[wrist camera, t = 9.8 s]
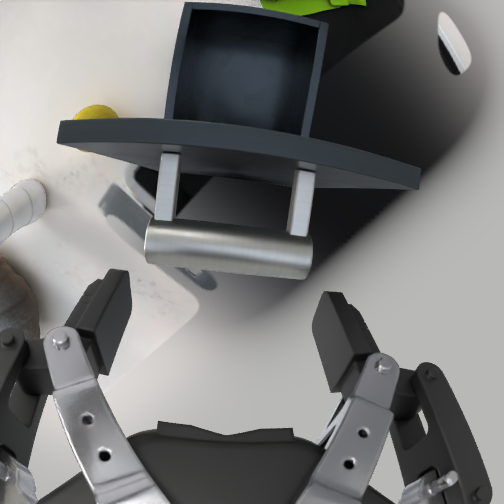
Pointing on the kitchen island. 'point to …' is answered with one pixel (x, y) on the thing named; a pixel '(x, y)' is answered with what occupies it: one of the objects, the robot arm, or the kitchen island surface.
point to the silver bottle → (21, 206)
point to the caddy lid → (239, 167)
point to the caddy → (246, 67)
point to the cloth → (306, 5)
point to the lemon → (95, 113)
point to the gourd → (17, 303)
